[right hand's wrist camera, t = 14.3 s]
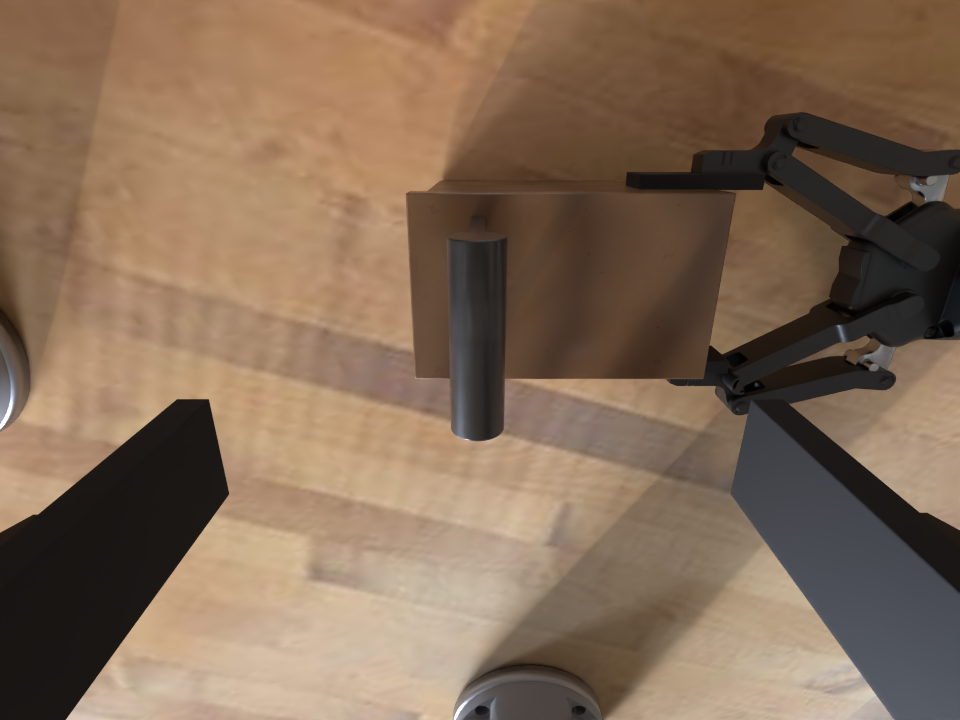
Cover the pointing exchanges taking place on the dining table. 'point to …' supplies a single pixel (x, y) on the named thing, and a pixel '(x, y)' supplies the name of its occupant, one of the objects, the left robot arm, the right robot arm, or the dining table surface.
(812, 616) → the dining table surface
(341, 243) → the dining table surface
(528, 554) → the dining table surface
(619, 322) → the lid
